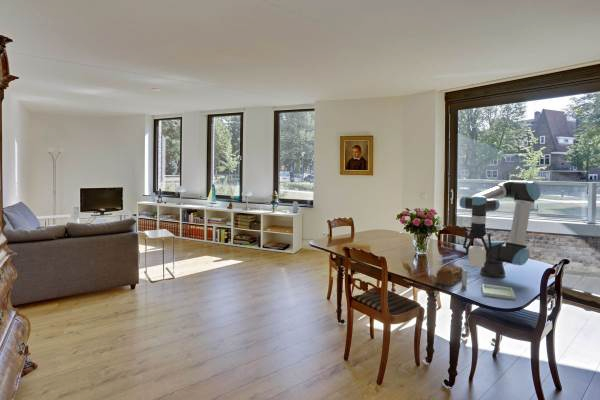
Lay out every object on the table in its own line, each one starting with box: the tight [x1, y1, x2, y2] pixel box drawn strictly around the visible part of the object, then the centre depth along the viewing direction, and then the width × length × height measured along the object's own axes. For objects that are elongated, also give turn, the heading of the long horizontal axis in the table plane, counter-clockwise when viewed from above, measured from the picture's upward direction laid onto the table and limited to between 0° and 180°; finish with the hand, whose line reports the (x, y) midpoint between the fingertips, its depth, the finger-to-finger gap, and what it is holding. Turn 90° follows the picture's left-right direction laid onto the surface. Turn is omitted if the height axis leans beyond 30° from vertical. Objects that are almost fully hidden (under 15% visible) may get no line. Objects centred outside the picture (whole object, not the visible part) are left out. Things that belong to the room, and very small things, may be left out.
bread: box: [435, 264, 464, 287], centre depth 241 cm, size 19×11×10 cm, turn 137°
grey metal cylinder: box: [460, 269, 468, 291], centre depth 227 cm, size 4×4×12 cm
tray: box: [481, 283, 516, 301], centre depth 220 cm, size 16×16×2 cm
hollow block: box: [468, 245, 485, 268], centre depth 223 cm, size 8×8×10 cm
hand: (476, 260), depth 223 cm, fingers closed on hollow block, 8 cm apart
